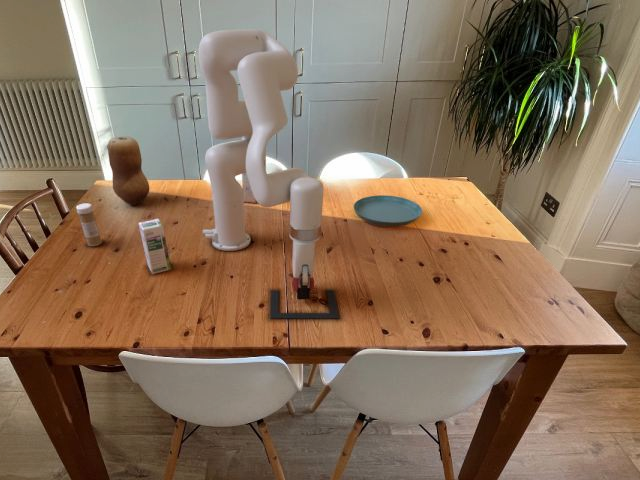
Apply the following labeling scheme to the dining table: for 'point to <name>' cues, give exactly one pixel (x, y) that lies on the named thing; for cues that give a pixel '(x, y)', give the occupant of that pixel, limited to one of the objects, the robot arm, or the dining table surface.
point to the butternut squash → (127, 170)
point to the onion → (296, 281)
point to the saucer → (387, 210)
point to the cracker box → (246, 186)
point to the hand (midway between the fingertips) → (302, 290)
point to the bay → (331, 315)
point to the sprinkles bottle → (89, 224)
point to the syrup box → (155, 245)
